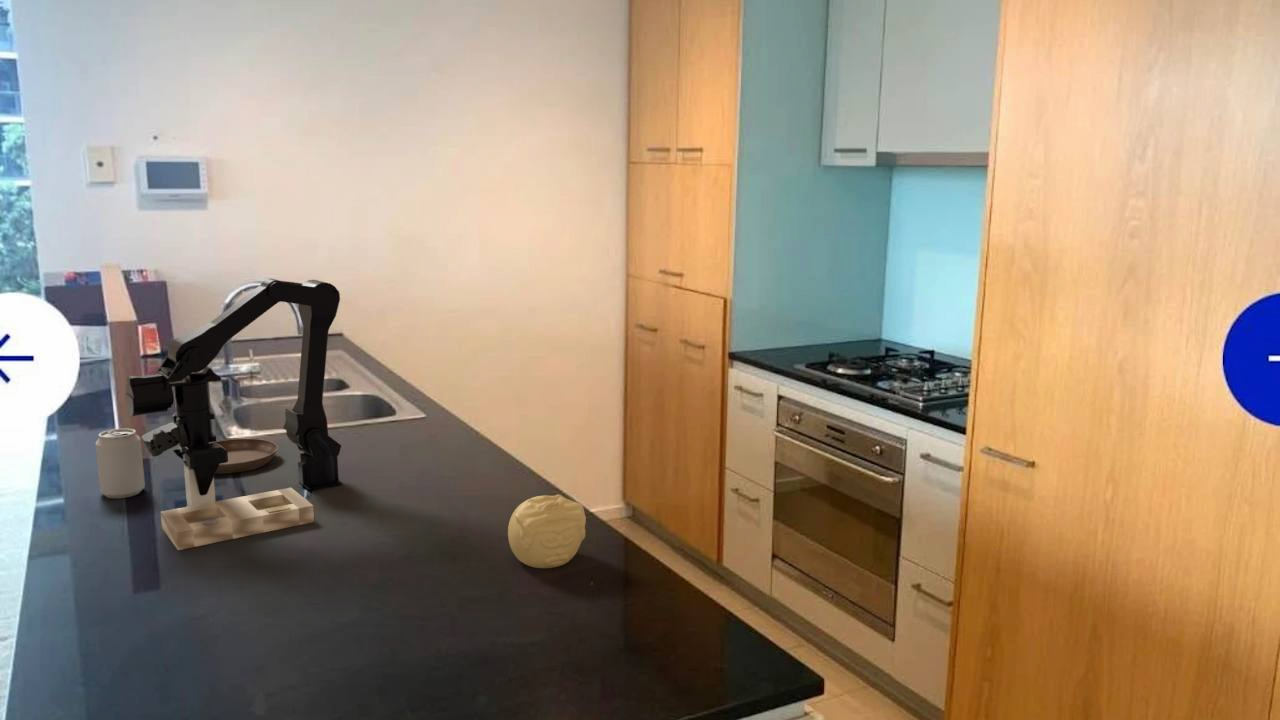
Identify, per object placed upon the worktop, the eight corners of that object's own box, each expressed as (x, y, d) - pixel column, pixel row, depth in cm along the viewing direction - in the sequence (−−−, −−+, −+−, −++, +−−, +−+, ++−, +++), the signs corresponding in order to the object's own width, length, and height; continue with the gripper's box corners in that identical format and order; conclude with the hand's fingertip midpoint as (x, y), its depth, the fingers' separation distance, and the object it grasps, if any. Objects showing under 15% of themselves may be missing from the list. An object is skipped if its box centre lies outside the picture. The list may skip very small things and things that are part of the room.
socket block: (292, 503, 181) (291, 486, 181) (314, 522, 172) (313, 504, 171) (162, 528, 169) (160, 510, 168) (178, 550, 159) (176, 531, 158)
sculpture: (525, 581, 148) (524, 513, 146) (498, 553, 159) (497, 489, 157) (594, 567, 153) (594, 501, 151) (564, 541, 164) (563, 479, 162)
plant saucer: (273, 474, 199) (272, 459, 199) (178, 480, 195) (177, 465, 194) (283, 449, 216) (282, 436, 215) (196, 454, 212) (194, 441, 211)
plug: (210, 502, 181) (206, 450, 180) (216, 508, 178) (211, 455, 176) (187, 506, 179) (182, 453, 177) (192, 513, 176) (187, 459, 174)
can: (126, 501, 182) (120, 438, 180) (91, 498, 183) (84, 435, 181) (154, 488, 189) (148, 427, 187) (119, 485, 191) (113, 425, 188)
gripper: (133, 403, 178) (141, 486, 181) (154, 425, 163) (163, 515, 166) (198, 395, 184) (205, 475, 187) (225, 415, 170) (232, 502, 173)
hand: (200, 491), depth 178 cm, fingers closed on plug, 4 cm apart
